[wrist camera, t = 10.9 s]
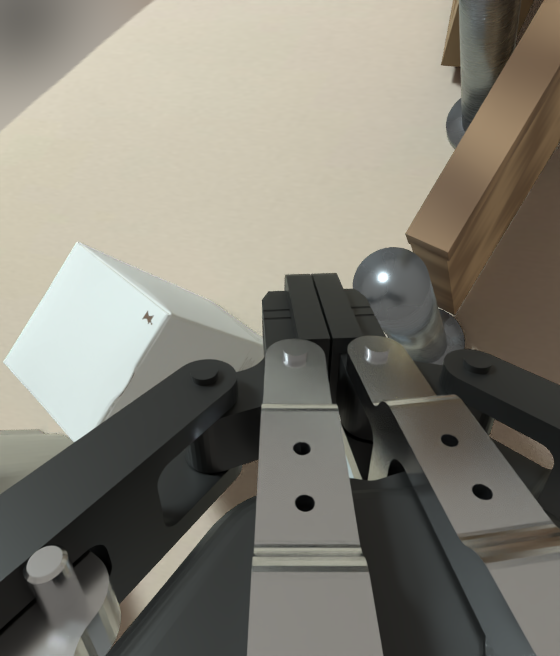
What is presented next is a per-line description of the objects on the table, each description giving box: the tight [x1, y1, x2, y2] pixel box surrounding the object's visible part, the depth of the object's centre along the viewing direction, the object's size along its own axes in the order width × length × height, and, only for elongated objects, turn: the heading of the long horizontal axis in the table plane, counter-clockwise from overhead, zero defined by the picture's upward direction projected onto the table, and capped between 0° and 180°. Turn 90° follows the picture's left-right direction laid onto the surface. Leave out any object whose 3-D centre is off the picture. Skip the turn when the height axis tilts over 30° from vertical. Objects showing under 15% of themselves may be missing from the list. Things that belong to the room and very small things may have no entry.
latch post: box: [446, 0, 521, 149], centre depth 26 cm, size 5×5×18 cm
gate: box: [405, 0, 560, 315], centre depth 25 cm, size 18×3×14 cm, turn 146°
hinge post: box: [353, 247, 465, 365], centre depth 25 cm, size 5×5×16 cm
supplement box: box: [3, 242, 264, 442], centre depth 32 cm, size 9×9×15 cm
